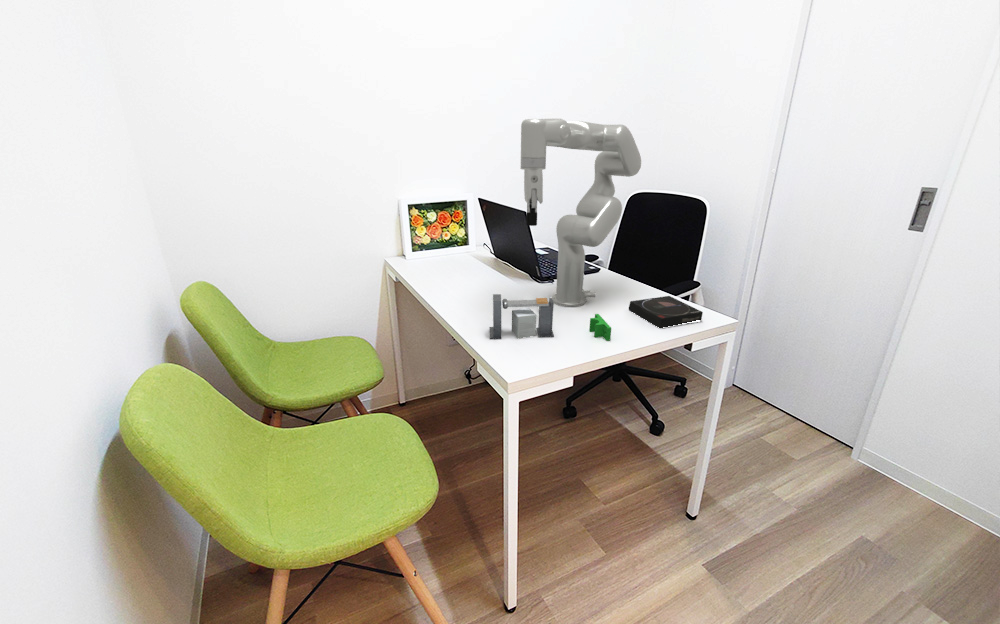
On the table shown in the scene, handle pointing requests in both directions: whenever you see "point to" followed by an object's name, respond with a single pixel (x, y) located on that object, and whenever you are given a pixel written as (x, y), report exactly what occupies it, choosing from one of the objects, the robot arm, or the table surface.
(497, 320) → the hinge post
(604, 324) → the pipe clamp
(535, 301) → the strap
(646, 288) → the table surface
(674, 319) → the portable cd player
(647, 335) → the table surface
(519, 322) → the product box
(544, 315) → the lug block
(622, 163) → the robot arm
